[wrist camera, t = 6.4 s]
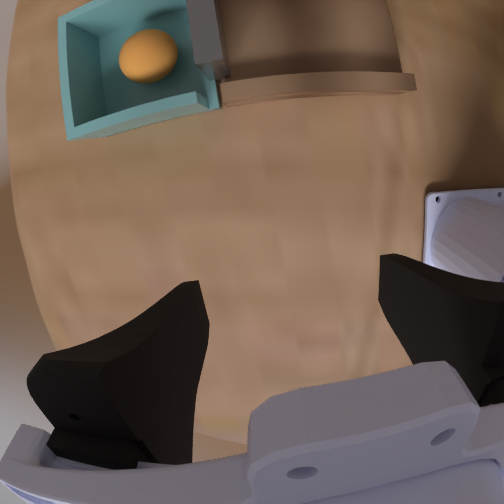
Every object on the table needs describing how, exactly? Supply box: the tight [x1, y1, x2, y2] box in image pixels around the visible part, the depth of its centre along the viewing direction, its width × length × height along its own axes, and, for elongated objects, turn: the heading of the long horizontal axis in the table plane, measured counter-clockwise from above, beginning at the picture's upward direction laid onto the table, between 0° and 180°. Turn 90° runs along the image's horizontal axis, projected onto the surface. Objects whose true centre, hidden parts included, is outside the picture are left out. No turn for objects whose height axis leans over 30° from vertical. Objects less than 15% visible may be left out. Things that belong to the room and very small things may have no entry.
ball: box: [119, 29, 178, 83], centre depth 14 cm, size 4×4×4 cm
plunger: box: [186, 0, 231, 81], centre depth 12 cm, size 1×5×4 cm, turn 9°
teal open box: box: [58, 0, 221, 141], centre depth 14 cm, size 8×8×5 cm
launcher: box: [218, 0, 417, 107], centre depth 14 cm, size 11×8×4 cm
